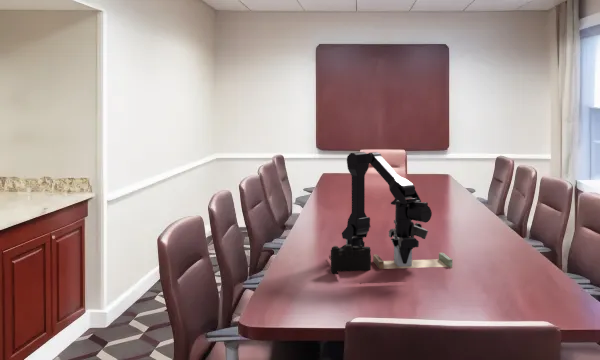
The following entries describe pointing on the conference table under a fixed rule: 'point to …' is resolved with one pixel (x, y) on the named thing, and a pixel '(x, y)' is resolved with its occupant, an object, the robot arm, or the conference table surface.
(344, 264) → the camera
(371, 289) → the conference table surface
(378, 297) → the conference table surface
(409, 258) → the block
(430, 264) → the track
